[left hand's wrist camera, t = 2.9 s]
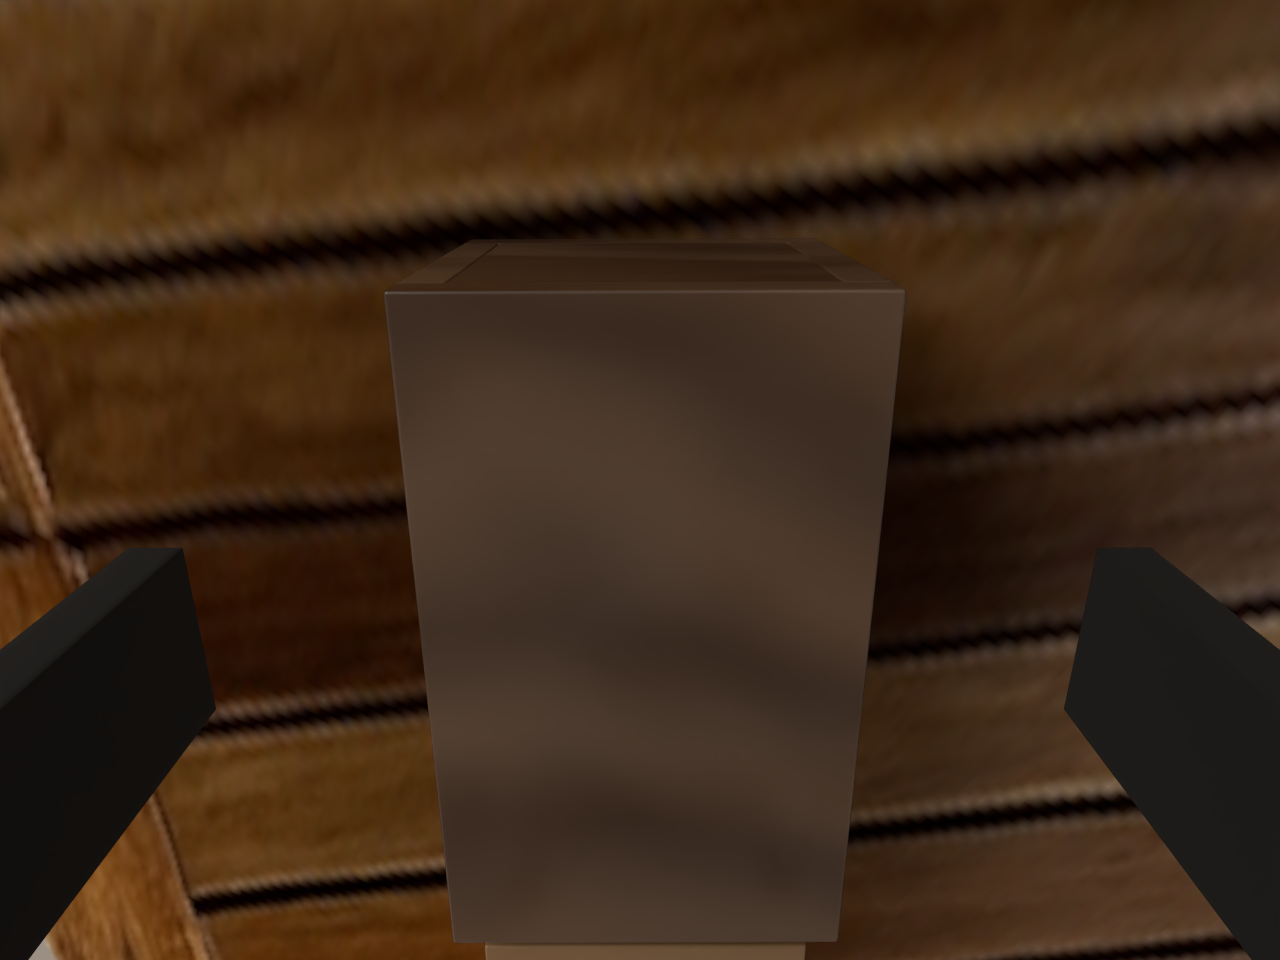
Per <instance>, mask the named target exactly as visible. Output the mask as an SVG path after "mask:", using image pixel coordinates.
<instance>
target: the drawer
mask: <svg viewBox="0 0 1280 960" xmlns="http://www.w3.org/2000/svg"><path fill="white" fill-rule="evenodd" d="M805 950H806V944H805V942H514V943H485V954H486V960H805Z"/></svg>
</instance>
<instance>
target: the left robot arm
mask: <svg viewBox="0 0 1280 960" xmlns="http://www.w3.org/2000/svg"><path fill="white" fill-rule="evenodd" d="M215 710H216V707H215V702H214V697H213V693H212V688H211V683H210V678H209V673H208V669H207V664H206V659H205V654H204V649H203V645H202V640H201V635H200V630H199V625H198V621H197V616H196V611H195V606H194V601H193V597H192V592H191V587H190V582H189V577H188V573H187V568H186V563H185V558H184V553H183V549H182V548H128V549H127V550H126V551H124V552H123V553H122V554H121V555H119V556H118V557H117V558H116V559H114V560H113V561H112V562H111V563H109V564H108V565H107V566H105V567H104V568H103V569H102V570H100V571H99V572H98V573H97V574H95V575H94V576H93V577H92V578H90V579H89V580H88V581H87V582H85V583H84V584H83V585H82V586H80V587H79V588H78V589H76V590H75V591H74V592H73V593H71V594H70V595H69V596H68V597H66V598H65V599H64V600H63V601H61V602H60V603H59V604H58V605H56V606H55V607H54V608H53V609H51V610H50V611H49V612H47V613H46V614H45V615H44V616H42V617H41V618H40V619H39V620H37V621H36V622H35V623H34V624H32V625H31V626H30V627H29V628H27V629H26V630H25V631H24V632H22V633H21V634H20V635H18V636H17V637H16V638H15V639H13V640H12V641H11V642H10V643H8V644H7V645H6V646H5V647H3V648H2V649H1V650H0V960H29V958H30V957H31V956H32V954H33V953H34V952H35V950H36V949H37V947H38V946H39V945H40V944H41V942H42V941H43V940H44V938H45V937H46V935H47V934H48V933H49V931H50V930H51V929H52V927H53V926H54V925H55V923H56V922H57V921H58V919H59V918H60V917H61V915H62V914H63V913H64V911H65V910H66V909H67V907H68V906H69V905H70V903H71V902H72V901H73V899H74V898H75V897H76V895H77V894H78V893H79V891H80V890H81V889H82V887H83V886H84V885H85V883H86V882H87V881H88V879H89V878H90V877H91V875H92V874H93V873H94V871H95V870H96V869H97V867H98V866H99V865H100V863H101V862H102V861H103V859H104V858H105V857H106V855H107V854H108V853H109V851H110V850H111V849H112V847H113V846H114V845H115V843H116V842H117V841H118V839H119V838H120V837H121V835H122V834H123V833H124V831H125V830H126V829H127V827H128V826H129V825H130V823H131V822H132V821H133V819H134V818H135V817H136V815H137V814H138V813H139V811H140V810H141V809H142V807H143V806H144V805H145V803H146V802H147V801H148V799H149V798H150V797H151V795H152V794H153V793H154V791H155V790H156V789H157V787H158V786H159V785H160V783H161V782H162V781H163V779H164V778H165V777H166V775H167V774H168V773H169V771H170V770H171V768H172V767H173V766H174V764H175V763H176V762H177V760H178V759H179V758H180V756H181V755H182V754H183V752H184V751H185V750H186V748H187V747H188V746H189V744H190V743H191V742H192V740H193V739H194V738H195V736H196V735H197V734H198V732H199V731H200V730H201V728H202V727H203V726H204V724H205V723H206V722H207V720H208V719H209V718H210V716H211V715H212V714H213V712H214V711H215ZM1064 710H1065V711H1066V712H1067V714H1068V715H1069V716H1070V718H1071V719H1072V720H1073V722H1074V723H1075V724H1076V726H1077V727H1078V728H1079V730H1080V731H1081V732H1082V734H1083V735H1084V736H1085V738H1086V739H1087V740H1088V742H1089V743H1090V744H1091V746H1092V747H1093V748H1094V750H1095V751H1096V752H1097V754H1098V755H1099V756H1100V758H1101V759H1102V760H1103V762H1104V763H1105V764H1106V766H1107V767H1108V768H1109V770H1110V771H1111V773H1112V774H1113V775H1114V777H1115V778H1116V779H1117V781H1118V782H1119V783H1120V785H1121V786H1122V787H1123V789H1124V790H1125V791H1126V793H1127V794H1128V795H1129V797H1130V798H1131V799H1132V801H1133V802H1134V803H1135V805H1136V806H1137V807H1138V809H1139V810H1140V811H1141V813H1142V814H1143V815H1144V817H1145V818H1146V819H1147V821H1148V822H1149V823H1150V825H1151V826H1152V827H1153V829H1154V830H1155V831H1156V833H1157V834H1158V835H1159V837H1160V838H1161V839H1162V841H1163V842H1164V843H1165V845H1166V846H1167V847H1168V849H1169V850H1170V851H1171V853H1172V854H1173V855H1174V857H1175V858H1176V859H1177V861H1178V862H1179V863H1180V865H1181V866H1182V867H1183V869H1184V870H1185V871H1186V873H1187V874H1188V875H1189V877H1190V878H1191V879H1192V881H1193V882H1194V883H1195V885H1196V886H1197V887H1198V889H1199V890H1200V891H1201V893H1202V894H1203V895H1204V897H1205V898H1206V899H1207V901H1208V902H1209V903H1210V905H1211V906H1212V907H1213V909H1214V910H1215V911H1216V913H1217V914H1218V915H1219V917H1220V918H1221V919H1222V921H1223V922H1224V923H1225V925H1226V926H1227V927H1228V929H1229V930H1230V931H1231V933H1232V934H1233V935H1234V937H1235V938H1236V940H1237V941H1238V942H1239V944H1240V945H1241V946H1242V948H1243V949H1244V950H1245V952H1246V953H1247V954H1248V956H1249V957H1250V958H1251V960H1280V650H1279V649H1278V648H1277V647H1275V646H1274V645H1273V644H1272V643H1270V642H1269V641H1268V640H1267V639H1265V638H1264V637H1263V636H1262V635H1260V634H1259V633H1258V632H1256V631H1255V630H1254V629H1253V628H1251V627H1250V626H1249V625H1248V624H1246V623H1245V622H1244V621H1243V620H1241V619H1240V618H1239V617H1238V616H1236V615H1235V614H1234V613H1233V612H1231V611H1230V610H1229V609H1227V608H1226V607H1225V606H1224V605H1222V604H1221V603H1220V602H1219V601H1217V600H1216V599H1215V598H1214V597H1212V596H1211V595H1210V594H1209V593H1207V592H1206V591H1205V590H1204V589H1202V588H1201V587H1200V586H1198V585H1197V584H1196V583H1195V582H1193V581H1192V580H1191V579H1190V578H1188V577H1187V576H1186V575H1185V574H1183V573H1182V572H1181V571H1180V570H1178V569H1177V568H1176V567H1175V566H1173V565H1172V564H1171V563H1169V562H1168V561H1167V560H1166V559H1164V558H1163V557H1162V556H1161V555H1159V554H1158V553H1157V552H1156V551H1154V550H1153V549H1152V548H1098V549H1097V553H1096V558H1095V563H1094V568H1093V573H1092V577H1091V582H1090V587H1089V592H1088V597H1087V601H1086V606H1085V611H1084V616H1083V621H1082V625H1081V630H1080V635H1079V640H1078V645H1077V649H1076V654H1075V659H1074V664H1073V669H1072V673H1071V678H1070V683H1069V688H1068V693H1067V697H1066V702H1065V707H1064Z"/></svg>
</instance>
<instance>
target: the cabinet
mask: <svg viewBox="0 0 1280 960" xmlns="http://www.w3.org/2000/svg"><path fill="white" fill-rule="evenodd" d="M905 299H906V291H905V289H903V288H902V287H900V286H898V285H896V284H894V283H893V282H892V281H891V280H889V279H887V278H885V277H883V276H882V275H880V274H878V273H876V272H874V271H873V270H871V269H869V268H867V267H865V266H864V265H862V264H860V263H858V262H857V261H855V260H853V259H851V258H849V257H848V256H846V255H844V254H842V253H840V252H839V251H837V250H835V249H833V248H831V247H830V246H828V245H826V244H824V243H822V242H820V241H818V240H816V239H528V240H470V241H469V242H467V243H465V244H463V245H461V246H460V247H458V248H456V249H455V250H453V251H451V252H449V253H448V254H446V255H444V256H443V257H441V258H439V259H437V260H436V261H434V262H432V263H431V264H429V265H427V266H425V267H424V268H422V269H420V270H419V271H417V272H415V273H413V274H412V275H410V276H408V277H407V278H405V279H403V280H401V281H400V282H398V283H397V284H396V285H394V286H392V287H391V288H389V289H387V290H386V291H384V303H385V313H386V322H387V331H388V340H389V350H390V359H391V368H392V377H393V386H394V396H395V405H396V414H397V423H398V433H399V442H400V451H401V460H402V470H403V479H404V488H405V497H406V507H407V516H408V525H409V534H410V544H411V553H412V562H413V571H414V581H415V590H416V599H417V608H418V618H419V627H420V636H421V645H422V655H423V664H424V673H425V682H426V692H427V701H428V710H429V719H430V728H431V738H432V747H433V756H434V765H435V775H436V784H437V793H438V802H439V812H440V821H441V830H442V839H443V849H444V858H445V867H446V876H447V886H448V895H449V904H450V913H451V923H452V932H453V940H454V942H456V943H514V942H836V941H837V939H838V930H839V921H840V912H841V902H842V893H843V883H844V874H845V864H846V855H847V846H848V836H849V827H850V817H851V808H852V798H853V789H854V780H855V770H856V761H857V751H858V742H859V732H860V723H861V714H862V704H863V695H864V685H865V676H866V666H867V657H868V648H869V638H870V629H871V619H872V610H873V600H874V591H875V582H876V572H877V563H878V553H879V544H880V534H881V525H882V516H883V506H884V497H885V487H886V478H887V468H888V459H889V450H890V440H891V431H892V421H893V412H894V402H895V393H896V384H897V374H898V365H899V355H900V346H901V336H902V327H903V317H904V308H905Z"/></svg>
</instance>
